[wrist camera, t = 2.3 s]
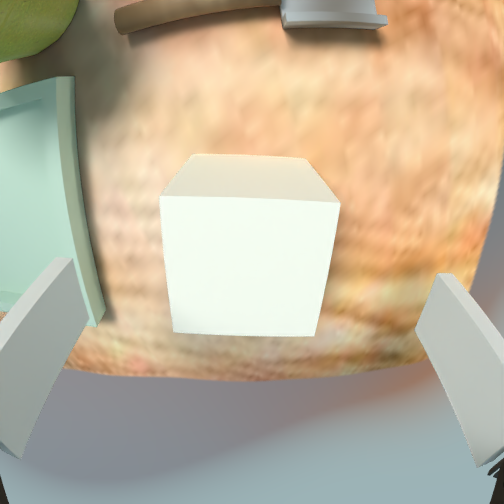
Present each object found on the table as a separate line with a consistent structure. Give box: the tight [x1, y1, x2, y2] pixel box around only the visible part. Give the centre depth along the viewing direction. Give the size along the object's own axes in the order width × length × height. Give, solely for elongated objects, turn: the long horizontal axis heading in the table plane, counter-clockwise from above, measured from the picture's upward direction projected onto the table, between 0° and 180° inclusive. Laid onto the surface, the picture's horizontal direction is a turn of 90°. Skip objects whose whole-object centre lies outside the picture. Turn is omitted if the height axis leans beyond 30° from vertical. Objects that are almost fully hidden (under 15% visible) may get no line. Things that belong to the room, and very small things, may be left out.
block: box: [159, 154, 341, 336], centre depth 15 cm, size 6×6×7 cm
